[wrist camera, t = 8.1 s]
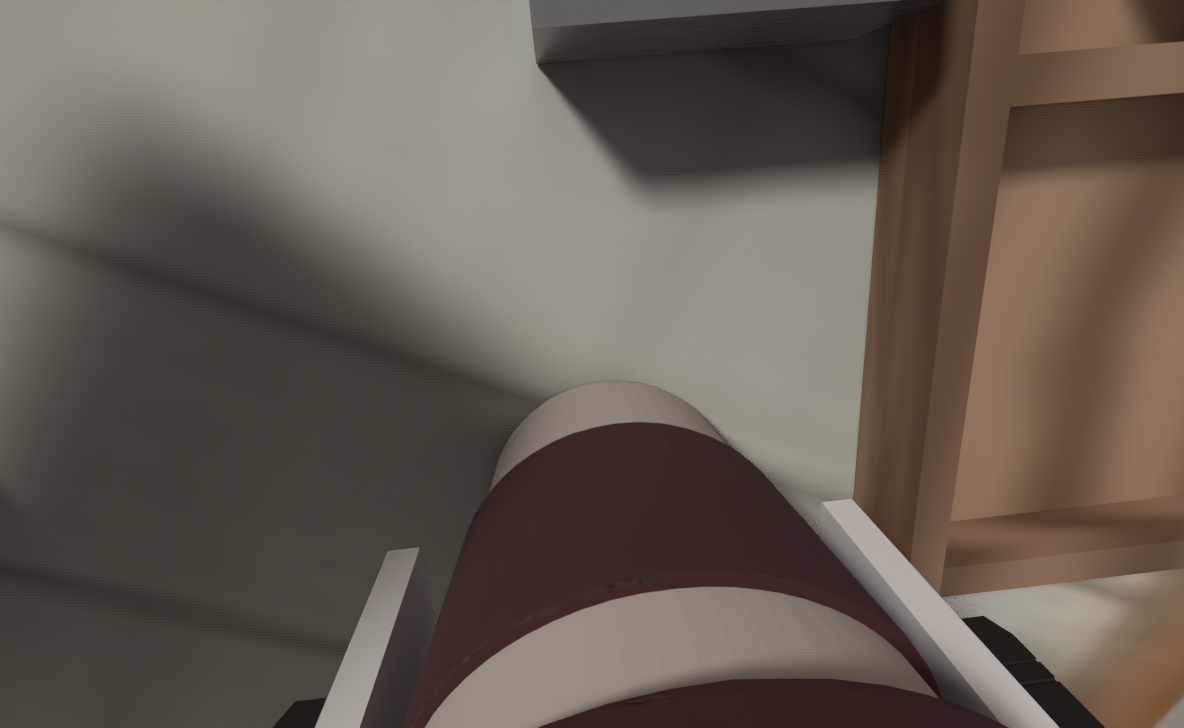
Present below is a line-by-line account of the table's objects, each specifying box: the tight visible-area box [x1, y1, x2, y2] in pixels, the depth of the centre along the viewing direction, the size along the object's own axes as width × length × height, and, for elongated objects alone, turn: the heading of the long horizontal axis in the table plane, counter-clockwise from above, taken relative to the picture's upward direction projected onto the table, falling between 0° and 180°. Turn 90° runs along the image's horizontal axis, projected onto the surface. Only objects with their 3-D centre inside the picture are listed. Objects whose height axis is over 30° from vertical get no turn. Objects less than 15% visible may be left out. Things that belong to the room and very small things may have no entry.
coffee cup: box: [403, 381, 1008, 728], centre depth 11 cm, size 10×10×15 cm
